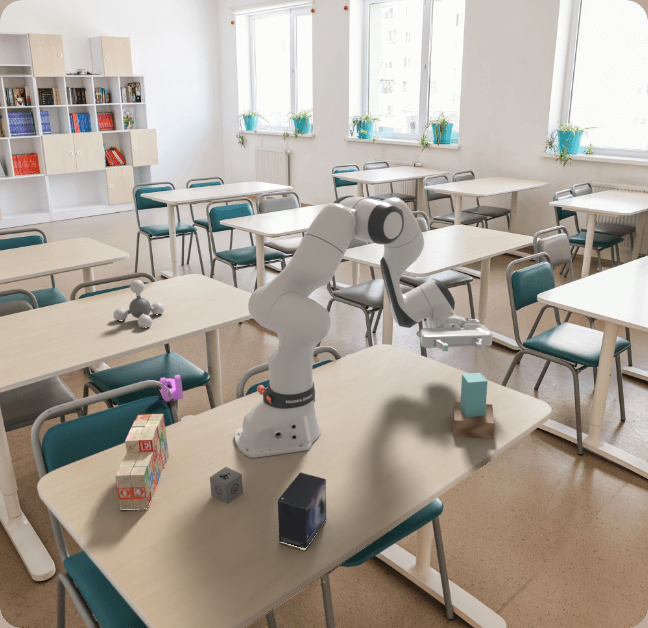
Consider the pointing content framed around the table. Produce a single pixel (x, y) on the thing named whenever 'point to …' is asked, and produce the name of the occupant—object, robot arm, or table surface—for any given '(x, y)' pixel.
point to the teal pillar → (473, 394)
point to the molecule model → (139, 307)
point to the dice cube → (226, 485)
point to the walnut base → (473, 423)
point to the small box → (302, 510)
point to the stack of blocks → (142, 462)
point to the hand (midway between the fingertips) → (462, 348)
